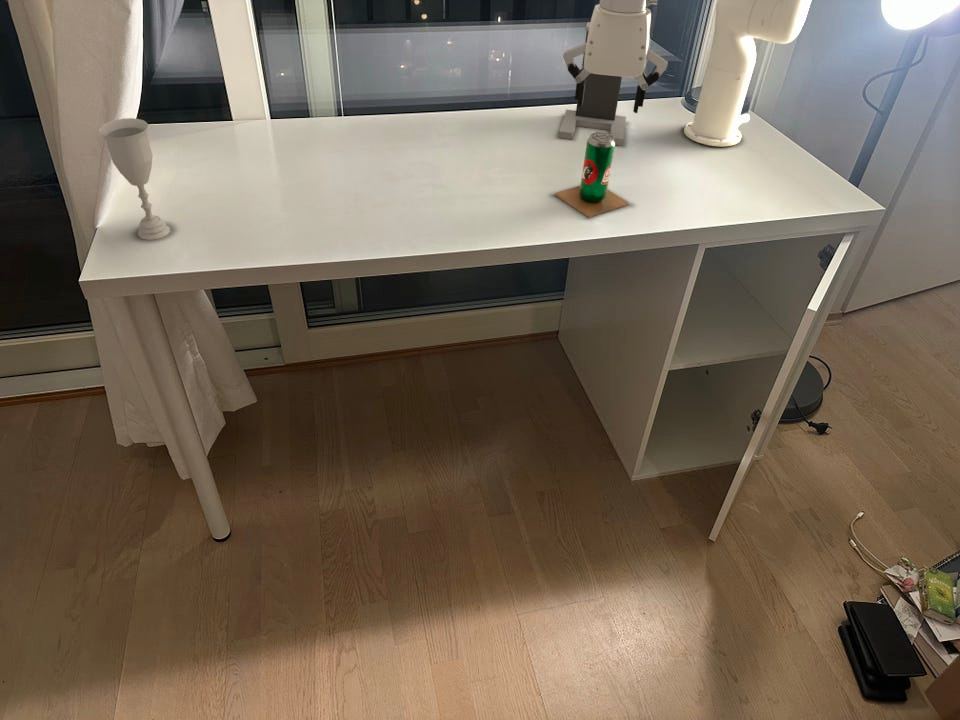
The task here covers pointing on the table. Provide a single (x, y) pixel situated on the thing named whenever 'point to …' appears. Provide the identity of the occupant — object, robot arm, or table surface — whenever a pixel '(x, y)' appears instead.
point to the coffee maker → (596, 106)
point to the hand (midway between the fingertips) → (607, 107)
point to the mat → (591, 208)
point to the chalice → (134, 166)
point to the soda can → (597, 166)
